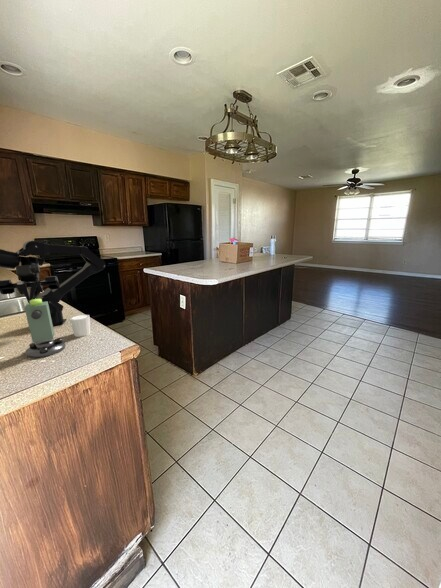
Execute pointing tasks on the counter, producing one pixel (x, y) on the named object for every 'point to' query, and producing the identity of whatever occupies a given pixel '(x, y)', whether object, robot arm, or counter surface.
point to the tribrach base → (45, 348)
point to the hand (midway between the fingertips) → (30, 303)
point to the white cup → (80, 325)
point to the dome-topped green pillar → (39, 321)
